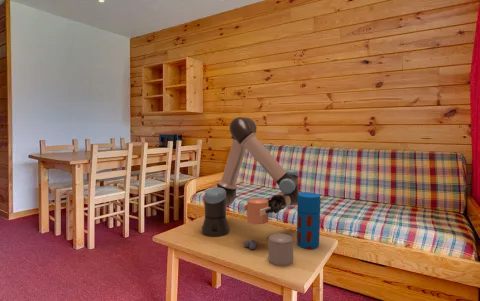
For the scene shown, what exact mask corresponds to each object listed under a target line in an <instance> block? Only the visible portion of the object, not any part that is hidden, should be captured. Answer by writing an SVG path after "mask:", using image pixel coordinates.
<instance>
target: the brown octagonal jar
mask: <svg viewBox="0 0 480 301" xmlns="http://www.w3.org/2000/svg"><path fill="white" fill-rule="evenodd" d="M267 252H268V257H267V258H268V262H269V263H271V264H273V265H275V266H278V267H280V266H281V267H282V266H283V267H285V266H289V265H291V264H292V263H293V262H294V240H293V236H291V235H289V234H286V233H274V234H271V235H269V237H268V251H267Z"/></svg>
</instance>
